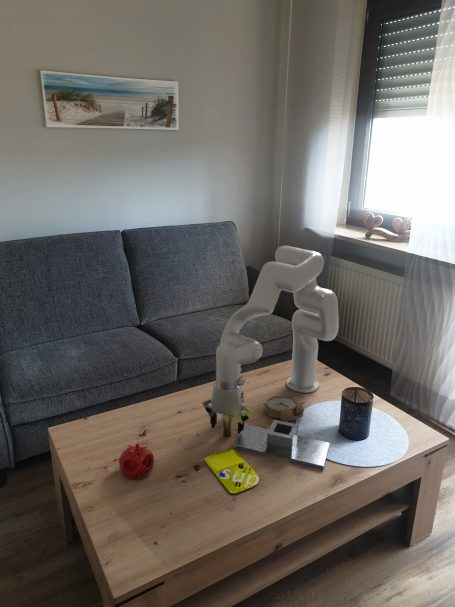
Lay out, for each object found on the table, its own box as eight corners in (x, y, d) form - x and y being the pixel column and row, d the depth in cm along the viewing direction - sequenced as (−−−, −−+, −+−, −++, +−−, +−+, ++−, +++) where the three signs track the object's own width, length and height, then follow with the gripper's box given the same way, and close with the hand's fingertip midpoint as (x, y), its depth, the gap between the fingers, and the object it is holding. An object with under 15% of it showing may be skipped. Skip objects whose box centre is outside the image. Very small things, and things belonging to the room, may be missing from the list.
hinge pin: (224, 432, 160) (224, 406, 156) (231, 433, 159) (232, 407, 156) (221, 436, 158) (222, 410, 154) (229, 438, 157) (229, 411, 153)
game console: (201, 461, 147) (201, 457, 146) (232, 450, 152) (233, 446, 151) (231, 498, 132) (231, 494, 131) (265, 484, 137) (265, 480, 137)
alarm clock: (281, 392, 179) (311, 403, 168) (282, 404, 180) (312, 416, 169) (258, 402, 173) (288, 413, 161) (259, 414, 174) (289, 427, 162)
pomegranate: (117, 464, 144) (115, 438, 141) (150, 457, 147) (149, 431, 144) (122, 486, 135) (120, 458, 132) (157, 478, 138) (156, 450, 135)
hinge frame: (245, 428, 162) (246, 410, 160) (329, 446, 153) (331, 428, 151) (233, 448, 152) (234, 429, 149) (323, 470, 143) (325, 450, 140)
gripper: (257, 381, 152) (255, 428, 158) (206, 371, 158) (206, 417, 163) (250, 392, 145) (248, 440, 151) (197, 382, 151) (198, 429, 157)
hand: (227, 428), depth 157 cm, fingers open, 8 cm apart
